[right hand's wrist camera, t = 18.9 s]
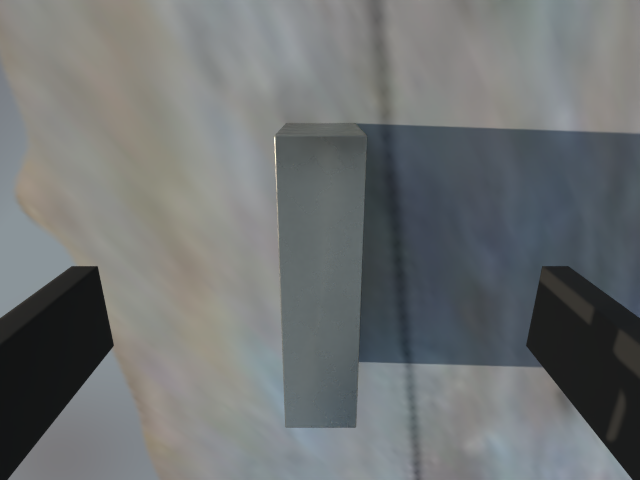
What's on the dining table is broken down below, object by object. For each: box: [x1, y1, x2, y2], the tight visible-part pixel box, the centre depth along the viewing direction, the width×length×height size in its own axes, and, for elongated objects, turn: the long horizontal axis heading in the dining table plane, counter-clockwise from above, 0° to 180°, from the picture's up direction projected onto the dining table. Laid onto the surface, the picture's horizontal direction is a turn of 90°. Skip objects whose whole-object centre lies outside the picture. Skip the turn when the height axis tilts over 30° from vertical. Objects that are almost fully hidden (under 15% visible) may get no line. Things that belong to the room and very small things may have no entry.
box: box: [274, 123, 367, 428], centre depth 34 cm, size 23×6×9 cm, turn 0°
